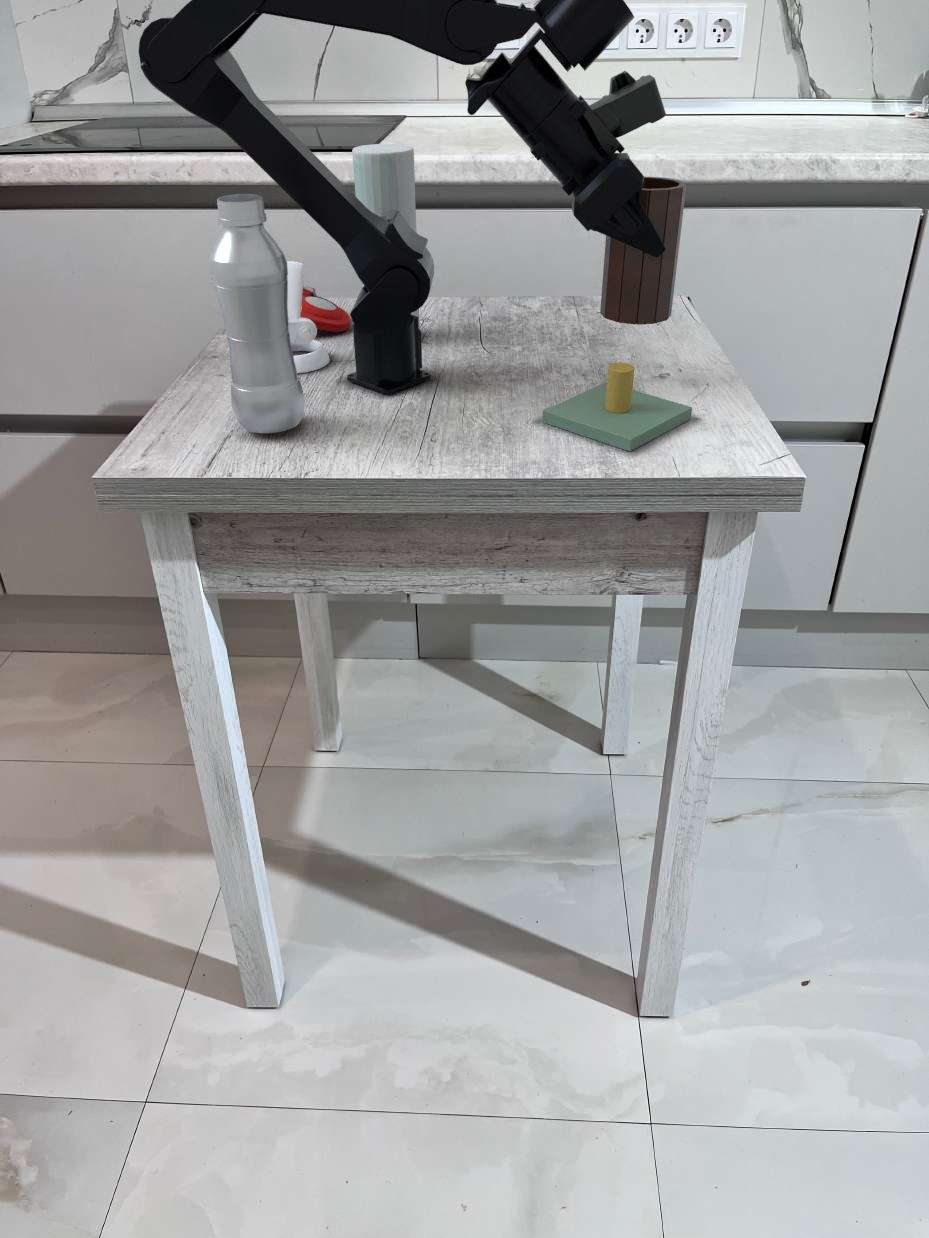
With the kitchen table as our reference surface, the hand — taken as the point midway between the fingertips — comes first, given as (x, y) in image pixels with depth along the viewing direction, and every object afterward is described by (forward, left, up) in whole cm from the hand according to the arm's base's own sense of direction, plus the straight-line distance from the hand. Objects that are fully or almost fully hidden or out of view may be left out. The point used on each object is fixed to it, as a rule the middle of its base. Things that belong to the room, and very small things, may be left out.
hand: (656, 244), depth 89 cm
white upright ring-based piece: (-20, +32, -14) cm, 40 cm away
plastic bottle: (-33, +19, -14) cm, 41 cm away
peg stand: (-10, -4, -13) cm, 17 cm away
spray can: (-7, +30, -14) cm, 34 cm away
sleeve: (-1, +1, -7) cm, 7 cm away
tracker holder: (-10, +41, -14) cm, 44 cm away
